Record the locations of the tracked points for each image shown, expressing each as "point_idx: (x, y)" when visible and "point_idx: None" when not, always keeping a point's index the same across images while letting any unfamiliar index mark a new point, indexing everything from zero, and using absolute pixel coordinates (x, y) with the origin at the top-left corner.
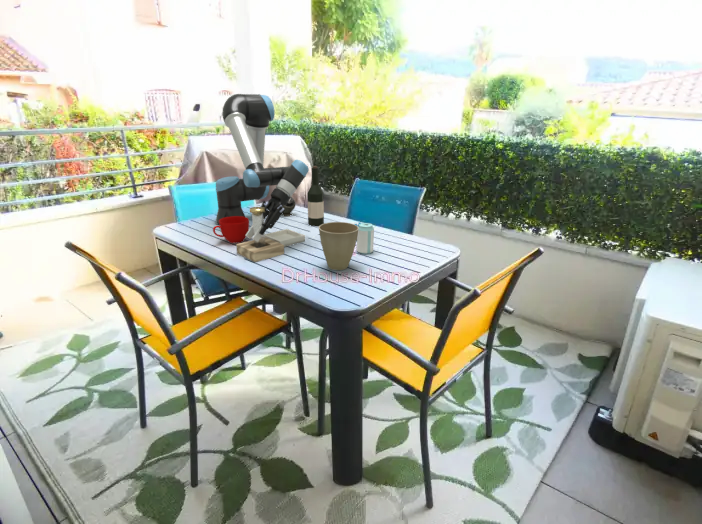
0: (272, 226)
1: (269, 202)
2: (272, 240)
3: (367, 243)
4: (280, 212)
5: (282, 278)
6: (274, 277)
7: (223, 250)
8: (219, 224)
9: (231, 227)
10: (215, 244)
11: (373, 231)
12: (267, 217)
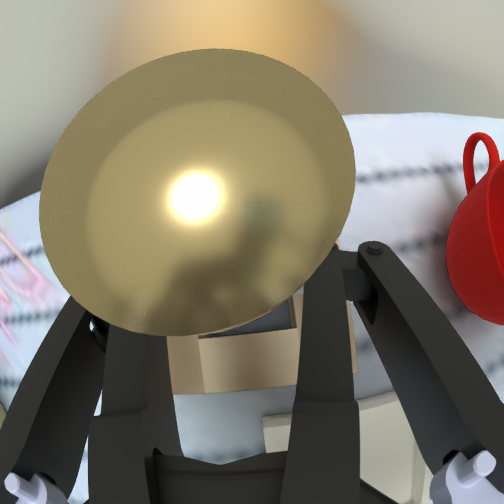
0: (93, 335)
1: None
2: (270, 386)
3: None
4: (37, 472)
5: (9, 240)
6: (24, 224)
7: (381, 173)
8: None
9: (475, 195)
10: (457, 182)
11: None
12: (128, 332)
